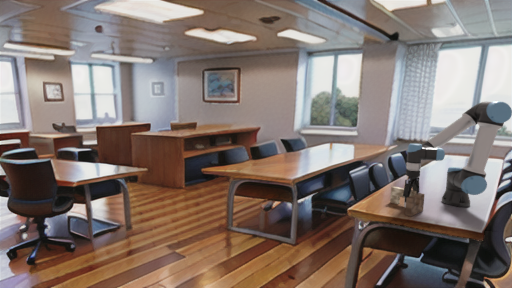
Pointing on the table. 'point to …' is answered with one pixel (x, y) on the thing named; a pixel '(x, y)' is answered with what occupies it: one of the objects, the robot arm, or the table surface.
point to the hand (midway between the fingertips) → (410, 205)
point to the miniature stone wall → (414, 204)
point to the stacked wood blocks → (399, 194)
